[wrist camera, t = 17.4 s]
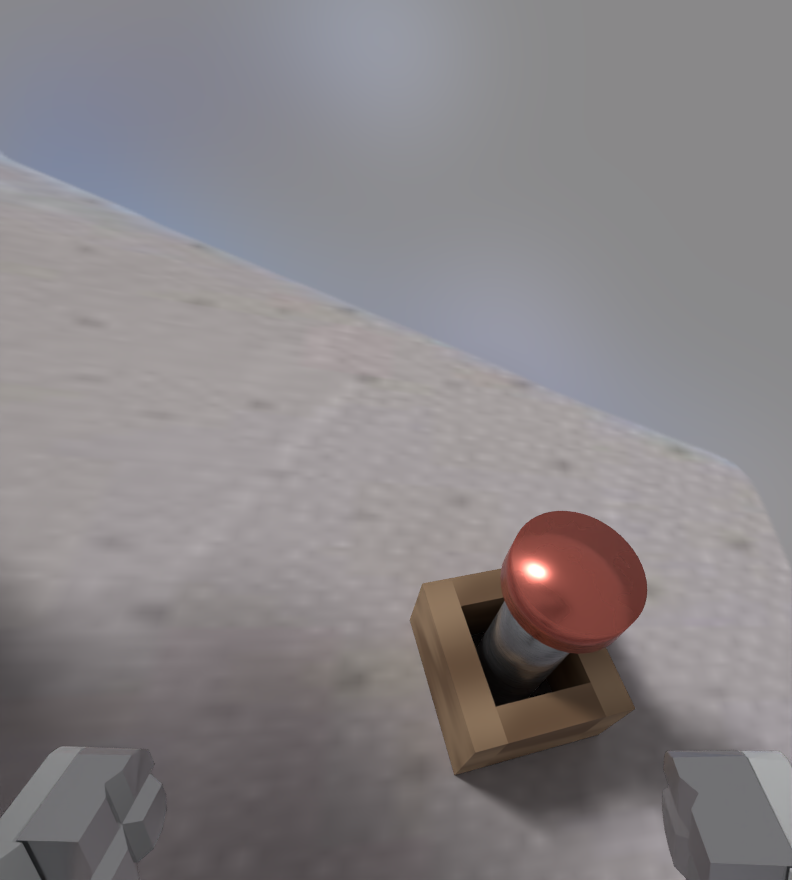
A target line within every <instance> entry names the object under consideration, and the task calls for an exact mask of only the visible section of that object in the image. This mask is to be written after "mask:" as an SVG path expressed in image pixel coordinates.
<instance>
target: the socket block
mask: <svg viewBox="0 0 792 880" xmlns="http://www.w3.org/2000/svg"><path fill="white" fill-rule="evenodd" d="M500 576H501V569H497V570H492V571H486V572H481V573H476V574H471V575H465V576H460V577H455V578H450V579H444V580H439V581H434V582H429V583H423V584H422V586H421V589H420V592H419V595H418V598H417V601H416V604H415V607H414V610H413V612H412V615H411V618H410V622H411V626H412V629H413V633H414V636H415V640H416V643H417V646H418V650H419V653H420V657H421V660H422V664H423V667H424V671H425V674H426V678H427V681H428V685H429V688H430V692H431V695H432V699H433V702H434V706H435V709H436V713H437V716H438V719H439V723H440V726H441V730H442V733H443V737H444V740H445V744H446V747H447V751H448V754H449V758H450V761H451V765H452V768H453V772H454V775H457V774H461V773H464V772H468V771H471V770H475V769H479V768H482V767H486V766H489V765H493V764H496V763H500V762H503V761H507V760H510V759H514V758H517V757H521V756H525V755H528V754H532V753H535V752H539V751H542V750H546V749H549V748H553V747H556V746H560V745H564V744H567V743H571V742H574V741H578V740H581V739H585V738H588V737H592V736H595V735H599V734H600V733H602V732H603V731H604V730H606V729H607V728H609V727H610V726H612V725H613V724H614V723H616V722H617V721H619V720H620V719H621V718H623V717H624V716H626V715H627V714H629V713H630V712H631V711H633V710H634V709H635V707H634V705H633V703H632V701H631V698H630V696H629V694H628V692H627V690H626V688H625V686H624V684H623V682H622V680H621V678H620V676H619V674H618V672H617V669H616V667H615V665H614V663H613V661H612V659H611V657H610V655H609V653H608V651H607V649H606V647H605V648H603V649H601V650H598V651H595V652H591V653H583V654H575V653H569V654H568V655H567V656H566V657H565V658H564V660H563V661H562V662H561V663H560V664H559V665H558V666H557V667H556V668H555V669H554V670H553V671H552V672H551V674H550V675H549V676H548V677H547V678H546V679H547V682H548V684H549V686H550V689H551V691H552V692H551V693H548V694H544V695H540V696H536V697H532V698H528V699H524V700H520V701H516V702H512V703H508V704H504V705H501V706H497V707H496V706H495V703H494V700H493V698H492V695H491V692H490V689H489V686H488V683H487V680H486V677H485V675H484V672H483V669H482V666H481V663H480V660H479V657H478V654H477V651H476V649H475V646H474V643H473V640H472V637H471V635H473V634H477V633H482V632H486V631H487V629H488V628H489V626H490V624H491V623H492V621H493V619H494V618H495V616H496V614H497V613H498V611H499V609H500V608H501V606H502V604H503V603H504V601H505V600H504V597H503V594H502V589H501V580H500Z"/></svg>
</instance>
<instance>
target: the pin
mask: <svg viewBox="0 0 792 880" xmlns="http://www.w3.org/2000/svg"><path fill="white" fill-rule="evenodd" d="M500 580H501V589H502V594H503V597H504V600H505V601H504V603H503V604H502V606H501V608H500V609H499V611H498V613H497V614H496V616H495V618H494V619H493V621H492V623H491V624H490V626H489V628H488V629H487V631H486V633H485V634H484V636H483V638H482V639H481V641H480V643H479V644H478V646H477V648H476V651H477V654H478V657H479V660H480V663H481V666H482V669H483V672H484V675H485V677H486V680H487V683H488V686H489V689H490V692H491V695H492V698H493V700H494V703H495V706H496V707H497V706H501V705H504V704H508V703H512V702H516V701H520V700H524V699H527V698H528V697H529V696H530V695H531V694H532V693H533V692H534V691H535V690H536V689H537V688H538V687H539V685H540V684H541V683H542V682H543V681H544V680H545V679H546V678H547V677H548V676H549V675H550V674H551V672H552V671H553V670H554V669H555V668H556V667H557V666H558V665H559V664H560V663H561V662H562V661H563V660H564V658H565V657H566V656H567V655H568V654H569V653H575V654H583V653H591V652H595V651H598V650H601V649H603V648H605V647H607V646H609V645H610V644H611V643H613V642H614V641H615V640H616V639H617V638H618V637H619V636H620V635H621V634H622V633H623V632H624V631H625V630H626V629H627V628H628V627H629V626H630V625H631V624H632V623H633V622H634V621H635V620H636V619H637V618H638V617H639V615H640V614H641V612H642V610H643V608H644V605H645V602H646V598H647V581H646V577H645V572H644V570H643V567H642V564H641V562H640V560H639V558H638V556H637V555H636V553H635V552H634V550H633V549H632V548H631V546H630V545H629V544H628V543H627V542H626V541H625V539H624V538H623V537H622V536H621V535H619V534H618V533H617V532H616V531H615V530H613V529H612V528H611V527H609V526H608V525H606V524H604V523H603V522H601V521H599V520H597V519H595V518H593V517H590V516H587V515H584V514H581V513H576V512H570V511H554V512H548V513H544V514H541V515H539V516H536V517H535V518H533V519H531V520H530V521H529V522H527V523H526V524H525V525H524V526H523V527H522V528H521V530H520V531H519V533H518V535H517V536H516V538H515V540H514V542H513V544H512V546H511V548H510V549H509V551H508V553H507V555H506V557H505V559H504V562H503V564H502V568H501V576H500Z"/></svg>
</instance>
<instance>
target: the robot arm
mask: <svg viewBox="0 0 792 880" xmlns="http://www.w3.org/2000/svg"><path fill="white" fill-rule="evenodd" d="M154 765H155V763H154V761H153V759H152V757H151V754H150V752H149V750H148V749H134V748H108V747H69V746H61V747H59V748H58V749H56V750H54V751H53V752H51V753H50V754H49V755H48V757H47V758H46V759H45V761H44V762H43V763H42V764H41V766H40V767H39V768H38V770H37V771H36V772H35V774H34V775H33V776H32V778H31V779H30V780H29V782H28V783H27V784H26V785H25V787H24V788H23V789H22V791H21V792H20V793H19V795H18V796H17V797H16V799H15V800H14V801H13V802H12V804H11V805H10V806H9V808H8V809H7V810H6V812H5V813H4V814H3V816H2V817H1V818H0V880H139V869H138V862H139V861H140V860H141V859H142V858H143V857H144V856H146V855H147V854H148V853H149V852H150V851H151V850H152V849H154V847H155V845H156V842H157V840H158V838H159V836H160V834H161V832H162V829H163V825H164V820H165V815H166V811H167V804H166V793H165V791H164V788H163V785H162V783H161V782H159V781H158V780H157V779H156V778H155V777H153V776H152V775H151V774H150V772H151V770H152V768H153V767H154ZM663 770H664V773H665V776H666V779H667V782H668V787H667V788H666V789H665V790H664V791H663V792H662V813H663V821H664V830H665V834H666V838H667V843H668V847H669V851H670V854H671V857H672V861H673V864H674V867H675V868H676V869H677V870H678V871H679V872H680V873H681V874H682V875H683V876H684V877H685V878H686V880H792V766H791V764H790V762H789V761H788V759H787V757H785V756H784V755H783V754H782V753H781V752H780V751H740V752H739V751H737V750H716V751H666V754H665V756H664V766H663Z"/></svg>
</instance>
